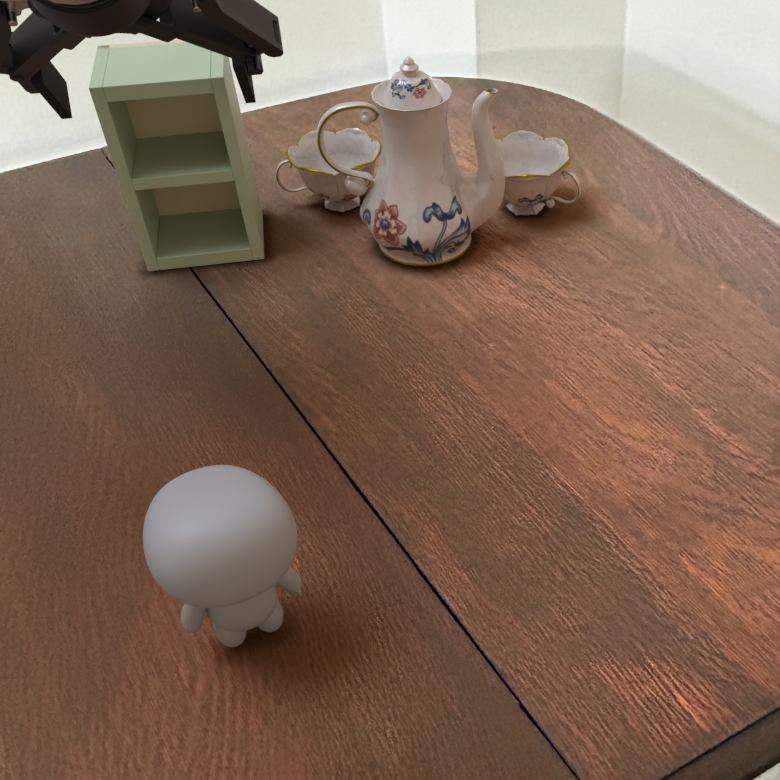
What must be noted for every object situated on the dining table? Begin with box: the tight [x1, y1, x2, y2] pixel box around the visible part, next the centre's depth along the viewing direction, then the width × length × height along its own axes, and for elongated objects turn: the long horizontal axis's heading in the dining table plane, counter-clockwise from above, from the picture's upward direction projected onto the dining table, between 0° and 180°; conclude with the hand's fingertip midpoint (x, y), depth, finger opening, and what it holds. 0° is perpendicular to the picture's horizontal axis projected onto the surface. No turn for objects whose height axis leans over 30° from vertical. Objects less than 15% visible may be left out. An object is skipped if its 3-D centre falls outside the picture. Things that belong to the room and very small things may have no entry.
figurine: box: [142, 464, 302, 648], centre depth 58 cm, size 8×8×12 cm
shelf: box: [88, 39, 265, 272], centre depth 86 cm, size 16×10×8 cm
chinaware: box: [275, 56, 582, 268], centre depth 89 cm, size 28×17×17 cm, turn 93°
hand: (157, 93), depth 78 cm, fingers open, 13 cm apart
